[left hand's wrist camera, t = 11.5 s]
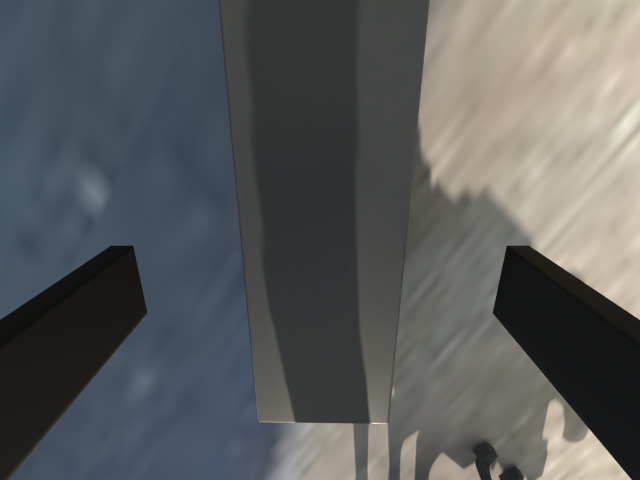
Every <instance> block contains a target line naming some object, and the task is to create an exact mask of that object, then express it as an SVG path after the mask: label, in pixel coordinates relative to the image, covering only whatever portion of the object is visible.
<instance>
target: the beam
mask: <svg viewBox="0 0 640 480" xmlns="http://www.w3.org/2000/svg"><path fill="white" fill-rule="evenodd" d="M219 8H220V19H221V30H222V41H223V51H224V62H225V73H226V84H227V95H228V106H229V117H230V127H231V138H232V149H233V160H234V171H235V182H236V192H237V203H238V214H239V225H240V236H241V247H242V257H243V268H244V279H245V290H246V301H247V312H248V323H249V333H250V344H251V355H252V366H253V377H254V388H255V398H256V409H257V419H258V422H295V423H369V424H387V423H388V422H389V414H390V404H391V394H392V383H393V373H394V362H395V352H396V342H397V331H398V321H399V311H400V300H401V290H402V280H403V269H404V259H405V249H406V238H407V228H408V218H409V207H410V197H411V187H412V176H413V166H414V156H415V145H416V135H417V124H418V114H419V104H420V93H421V83H422V73H423V62H424V52H425V42H426V31H427V21H428V11H429V0H219Z"/></svg>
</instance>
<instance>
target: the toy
mask: <svg viewBox="0 0 640 480" xmlns="http://www.w3.org/2000/svg"><path fill="white" fill-rule="evenodd" d="M473 451H474V453H475V454H476V456H477V458H476V459H475V462H476V467H477V470H478V473H479V475H480V478H481V480H492V479H491V475H490V469H489V466H490V464H491V463H492V462H493V461H494V460H495V459H496V457H497V454H496V452H495V450H494V448H493V447H492V446H491V445H489V444H488V443H487V442H486V443H484V444H482V445H481V446H479V447H477V448H476V449H474V450H473ZM499 478H500V480H523V479H524V477H523V475H522V473H521V472H520V470H519V469H518V468H517V467H513V468H511V469H509V470H508V471H506V472H504V473H502V474H501V475H499Z"/></svg>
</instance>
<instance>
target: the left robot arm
mask: <svg viewBox="0 0 640 480" xmlns="http://www.w3.org/2000/svg"><path fill="white" fill-rule="evenodd" d="M146 314H147V310H146V305H145V300H144V295H143V291H142V286H141V281H140V276H139V272H138V267H137V262H136V257H135V253H134V248H133V246H110V247H109V248H107V249H106V250H104V251H103V252H101V253H100V254H98V255H97V256H95V257H94V258H92V259H91V260H89V261H88V262H86V263H85V264H83V265H82V266H80V267H79V268H77V269H76V270H74V271H73V272H71V273H70V274H68V275H67V276H65V277H64V278H62V279H61V280H59V281H58V282H56V283H55V284H53V285H52V286H50V287H49V288H47V289H46V290H44V291H43V292H41V293H40V294H38V295H37V296H35V297H34V298H32V299H31V300H30V301H28V302H27V303H25V304H24V305H22V306H21V307H19V308H18V309H16V310H15V311H13V312H12V313H10V314H9V315H7V316H6V317H4V318H3V319H1V320H0V480H8V479H9V478H10V477H11V476H12V474H13V473H14V472H15V471H16V470H17V468H18V467H19V466H20V465H21V464H22V463H23V461H24V460H25V459H26V458H27V457H28V455H29V454H30V453H31V452H32V451H33V449H34V448H35V447H36V446H37V445H38V443H39V442H40V441H41V440H42V439H43V437H44V436H45V435H46V434H47V433H48V431H49V430H50V429H51V428H52V427H53V425H54V424H55V423H56V422H57V421H58V419H59V418H60V417H61V416H62V415H63V413H64V412H65V411H66V410H67V409H68V407H69V406H70V405H71V404H72V403H73V401H74V400H75V399H76V398H77V397H78V395H79V394H80V393H81V392H82V391H83V389H84V388H85V387H86V386H87V385H88V383H89V382H90V381H91V380H92V379H93V377H94V376H95V375H96V374H97V373H98V371H99V370H100V369H101V368H102V367H103V365H104V364H105V363H106V362H107V361H108V359H109V358H110V357H111V356H112V355H113V353H114V352H115V351H116V350H117V349H118V347H119V346H120V345H121V344H122V343H123V341H124V340H125V339H126V338H127V337H128V335H129V334H130V333H131V332H132V331H133V329H134V328H135V327H136V326H137V325H138V323H139V322H140V321H141V320H142V319H143V318H144V316H145V315H146ZM493 314H494V315H495V316H496V318H497V319H498V320H499V321H500V322H501V323H502V325H503V326H504V327H505V328H506V329H507V331H508V332H509V333H510V334H511V335H512V337H513V338H514V339H515V340H516V341H517V343H518V344H519V345H520V346H521V347H522V349H523V350H524V351H525V352H526V353H527V355H528V356H529V357H530V358H531V359H532V361H533V362H534V363H535V364H536V365H537V367H538V368H539V369H540V370H541V371H542V373H543V374H544V375H545V376H546V377H547V379H548V380H549V381H550V382H551V383H552V385H553V386H554V387H555V388H556V389H557V391H558V392H559V393H560V394H561V395H562V397H563V398H564V399H565V400H566V401H567V403H568V404H569V405H570V406H571V407H572V409H573V410H574V411H575V412H576V413H577V415H578V416H579V417H580V418H581V419H582V421H583V422H584V423H585V424H586V425H587V427H588V428H589V429H590V430H591V431H592V433H593V434H594V435H595V436H596V437H597V439H598V440H599V441H600V442H601V443H602V445H603V446H604V447H605V448H606V449H607V451H608V452H609V453H610V454H611V455H612V457H613V458H614V459H615V460H616V461H617V463H618V464H619V465H620V466H621V467H622V468H623V470H624V471H625V472H626V473H627V474H628V476H629V477H630V478H631V479H632V480H640V320H639V319H637V318H636V317H634V316H633V315H631V314H630V313H628V312H627V311H625V310H624V309H622V308H621V307H619V306H618V305H616V304H615V303H613V302H612V301H610V300H609V299H608V298H606V297H605V296H603V295H602V294H600V293H599V292H597V291H596V290H594V289H593V288H591V287H590V286H588V285H587V284H585V283H584V282H582V281H581V280H579V279H578V278H576V277H575V276H573V275H572V274H570V273H569V272H567V271H566V270H564V269H563V268H561V267H560V266H558V265H557V264H555V263H554V262H552V261H551V260H549V259H548V258H546V257H545V256H543V255H542V254H540V253H539V252H537V251H536V250H534V249H533V248H531V247H530V246H507V248H506V253H505V257H504V262H503V267H502V272H501V276H500V281H499V286H498V291H497V295H496V300H495V305H494V310H493Z"/></svg>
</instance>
